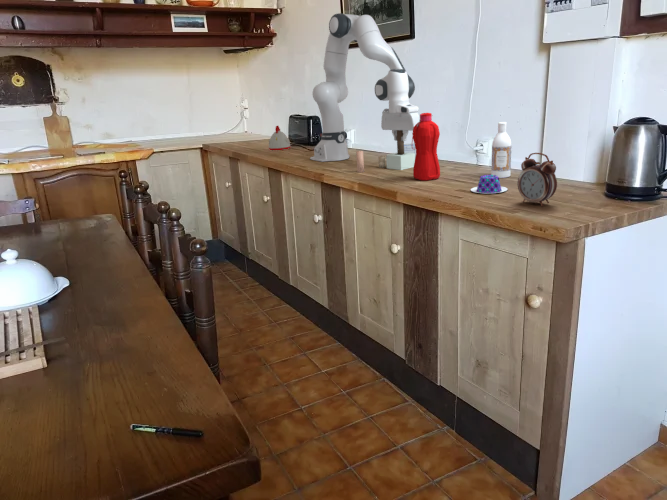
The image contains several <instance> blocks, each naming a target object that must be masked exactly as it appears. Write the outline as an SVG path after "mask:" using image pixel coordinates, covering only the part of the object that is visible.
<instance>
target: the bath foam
mask: <svg viewBox="0 0 667 500" xmlns="http://www.w3.org/2000/svg"><path fill="white" fill-rule="evenodd" d="M512 147H513V146H512V140H511V137H510V136H509V134H508V133H507V121H500V122H498V123H497V133H496V135H495V137H494V138H493V140H492V144H491V167H490V168H491V170H490V171H491V173H490V175H496V176H498V177H499V179H503V178H504V179H505V178H510V176H511V169H512Z"/></svg>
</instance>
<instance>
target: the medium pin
mask: <svg viewBox="0 0 667 500" xmlns="http://www.w3.org/2000/svg"><path fill="white" fill-rule="evenodd" d="M364 161H365V159H364V151H363V150H356V170H357V173H364V172H365V162H364Z"/></svg>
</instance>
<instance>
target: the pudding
mask: <svg viewBox="0 0 667 500" xmlns="http://www.w3.org/2000/svg"><path fill="white" fill-rule="evenodd" d="M470 191H471V192H473V193H475V194H477V193H478V194H485V195H486V194H487V195H488V194H498V193H499V194H500V193H503V192H507V191H508V188H507V187H505V186H501V182H500V178H499V177H498V176H496V175H491V174H484V175H480V177H479V181H478V184H477V186H475V187H472V188H470Z"/></svg>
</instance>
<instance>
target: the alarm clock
mask: <svg viewBox="0 0 667 500" xmlns="http://www.w3.org/2000/svg"><path fill="white" fill-rule="evenodd" d="M533 155H541V156H544V157H545V158H546V160H545V161H543V162H541V163H540V162H538V161H536V160H535V159H534V158H530V157H531V156H533ZM553 162H554V160H550V158H549V156H548V155H547V154H545V153H541V152H533V153H530V154H529V155H528V156H525V158H524V160H523V161H522V163H521V164H520V165H521V166H520V167H521V172H520V173H519V176H518V178H517V189H518V192H519V194H520V196H521V197H522V198H523V201H522V203H523V204H524V203H525V201H527V202H529V203H540V205H541V207H544V204H543V202H545V201H546V202H547V204H549V203H550V202H549V199H550V198H551V197H553V196H554V195H555V193H556V191H557V188H558V179H557V176H556V174H555V173H556V170H557V166H556V164H555V163H553Z"/></svg>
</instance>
